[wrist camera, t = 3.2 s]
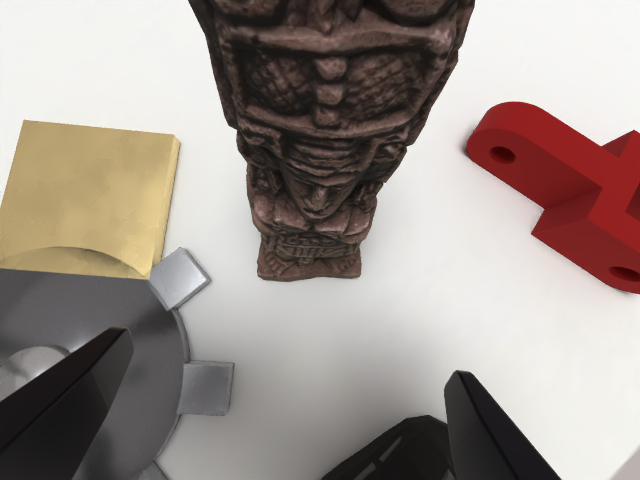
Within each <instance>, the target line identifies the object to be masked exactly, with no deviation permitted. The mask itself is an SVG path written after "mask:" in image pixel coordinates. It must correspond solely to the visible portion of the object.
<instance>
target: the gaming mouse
mask: <svg viewBox="0 0 640 480" xmlns="http://www.w3.org/2000/svg"><path fill="white" fill-rule="evenodd" d="M321 480H457V477H456V472H455V468H454V463H453V458H452V453H451V447H450V439H449V431H448V424H446V423H444V422H442V421H440V420H438V419H436V418H434V417H432V416H430V415H425V416H419V417H413V418H407V419H405V420H403V421H402V422H400V423H399V424H397V425H396V426H394V427H392V428H391V429H389V430H388V431H386V432H385V433H383V434H382V435H381V436H379V437H378V438H376V439H375V440H374V441H372V442H371V443H370V444H368V445H367V446H366V447H364V448H363V449H362V450H360V451H359V452H357V453H356V454H354V455H353V456H351V457H350V458H348V459H347V460H345V461H344V462H342V463H341V464H340V465H338V466H337V467H336V468H334V469H333V470H332V471H331V472H329V473H328V474H327V475H325V476H324V477H323V478H322V479H321Z"/></svg>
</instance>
